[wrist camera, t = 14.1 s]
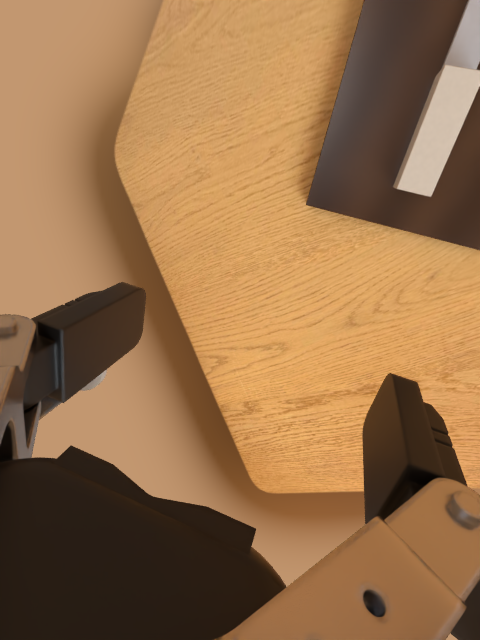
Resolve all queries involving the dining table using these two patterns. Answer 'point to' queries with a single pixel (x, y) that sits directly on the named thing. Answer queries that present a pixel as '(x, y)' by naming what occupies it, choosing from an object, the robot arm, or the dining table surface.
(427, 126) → the knife
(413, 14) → the cutting board
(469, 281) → the dining table surface
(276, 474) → the dining table surface
